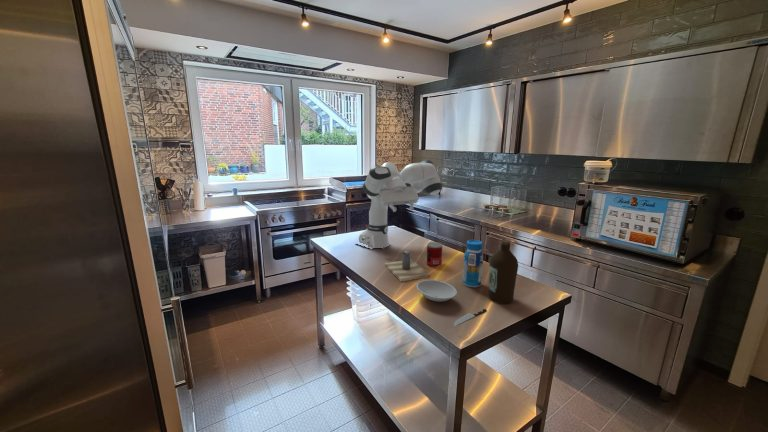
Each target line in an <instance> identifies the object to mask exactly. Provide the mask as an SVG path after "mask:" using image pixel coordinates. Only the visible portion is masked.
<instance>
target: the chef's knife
mask: <svg viewBox="0 0 768 432" xmlns="http://www.w3.org/2000/svg"><path fill="white" fill-rule="evenodd" d="M485 312H487V309H486V308H482V309H481V310H480V311H478V312H476V313H469V312H468V313H466V314H465V315H463V316H461V317H459V318H457V319H456V320H455V321H454V324H453V327H456V326H458V325H460V324H462V323H464V322H467V321H469V320H471V319H473V318H475V317H477V316H479V315H481V314H483V313H485Z"/></svg>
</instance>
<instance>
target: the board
mask: <svg viewBox="0 0 768 432" xmlns="http://www.w3.org/2000/svg"><path fill="white" fill-rule="evenodd" d="M385 266H386V267H387V268H388V269H389V270H390V271H391V272H392V273H393V274H394V275H395V276H396V277H397V278H398V279H399V280H398V279H397V278H396V279H397V280H398V281H400V282H401V281H403V282H406V281H413V279H414V280H417V279H423V278H430V273H429V272H428V271H427V270H425V268H423V267H422V266H421V265H419V264H417V263H416V262H415V261H413V260H412V259H411V258H410V270H404V269H402V260H398V261H391V262H385V263H384V267H385ZM386 267H385V268H386ZM387 268H386V269H387ZM388 269H387V270H388ZM389 270H388V271H389ZM391 272H390V273H391ZM392 273H391V274H392ZM393 274H392V275H393ZM394 275H393V276H394ZM395 276H394V277H395Z"/></svg>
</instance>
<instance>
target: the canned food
mask: <svg viewBox="0 0 768 432" xmlns="http://www.w3.org/2000/svg"><path fill="white" fill-rule="evenodd" d="M426 245H427V246H426V264H427V266H429V267H434V268H435V267H440V266H441V265H442V261H443V243H441V242H437V241H436V242H435V241H434V242H432V241H431V242H427V244H426Z"/></svg>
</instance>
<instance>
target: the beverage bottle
mask: <svg viewBox="0 0 768 432" xmlns="http://www.w3.org/2000/svg"><path fill="white" fill-rule="evenodd" d="M482 250H483V242H482V241H481V240H479V239H469V240H467V241H466V250H465V252H464V253H463V254H464V255H463V257H464V258H463V271H462V273H463V274H462V284H463V285H464V286H465V287H469V288H478V287H481V285H482V277H483V276H482V275H483V266H484V260H483V259H484V255H483V252H482Z"/></svg>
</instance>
